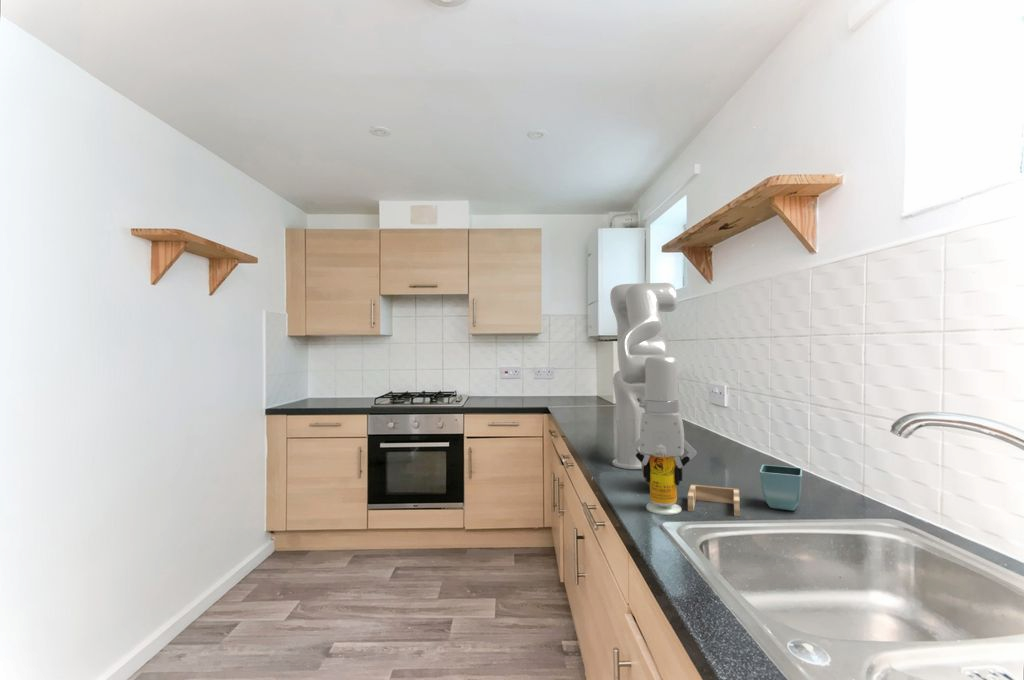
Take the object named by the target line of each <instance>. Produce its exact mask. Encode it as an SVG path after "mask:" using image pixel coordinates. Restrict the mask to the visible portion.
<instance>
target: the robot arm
mask: <svg viewBox="0 0 1024 680" xmlns="http://www.w3.org/2000/svg"><path fill="white" fill-rule="evenodd" d="M609 296H610V305H611V308H612V311H613V314H614V317H615V320H616V326H617V328H616V330H617V339H616V340H617V344H616V346H617V361H618V367H619V370H617V371H616V372H615V373H614V374H613V377H612V384H613V385H612V386H613V392H614V398H615V412H616V415H615V416H616V457H617V458H615V459H613V460H612V465H613V466H614V467H617V468H619V469H620V468H621V469H625V470H627V469H628V470H642V467H641V463H642V464H643V465H644V477H643V479H644V478H646V481H645V483H646V482H650V461H649V459H650V455H652V456H653V455H655V447H656V446H657V445H658V446H659V444H663V445H662V446H664V445H665V447H666V452H667V456H669V457H674V460H675V462H676V468H675V484H676V486H679V485H680V482H683V468H684V466H685V465H687V464H688V462H690V461H691V460H692V459H693V458H694V457H696V456H697V454H698V453H697V450H696V449H695V448H693V446H692V445H691V444H690V443H689V442H688V441H687V440H686V439H685V429H684V423H683V422H684V421H683V417H682V414H681V412H679V395H678V394H679V389H678V388H679V387H678V385H679V383H678V361H677V358H675V357H674V356H671V355H669V349H668V344H667V341H666V340H665V338H664V337H662V336H660V335H658V334H659V333H661V330H662V328H663V323H662V319H661V315H660V313H672V312H674V311H675V310H676V308H677V306H678V303H679V299H678V298H679V296H678V292H677V289H676V287H675V286H674V285H673V284H672V283H670V282H652V283H651V282H649V283H625V284H623V283H622V284H618V285H615V286H613V288H611V291H610V294H609ZM642 398H643V399H644V401H638V399H642ZM685 450H686V451H687V452H688V453H687V454H686V455H685V456H684V457H683V458H682V456H683V455H684V453H685ZM643 454H645V456H644V455H643Z"/></svg>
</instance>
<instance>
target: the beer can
mask: <svg viewBox="0 0 1024 680" xmlns="http://www.w3.org/2000/svg"><path fill="white" fill-rule="evenodd" d="M662 445H663V444H659V446H658V445H657V446H656V447H655V455H653V456H652V455H650V487H649V494H650V495H649V496H650V497H649V500H650V501H651V503H652V502H653V504H655V505H658V506H673V505H674V504H676V503H677V501H678V500H677V499H678V496H677V495H678V494H677V489H678V488H677V485H676V484H675V468H676V465H677V464H676V462H675V460H674V457H669V456H667V452H666V447H665V445H664V446H662Z"/></svg>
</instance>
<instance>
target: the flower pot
mask: <svg viewBox="0 0 1024 680" xmlns="http://www.w3.org/2000/svg"><path fill="white" fill-rule="evenodd" d="M759 477H760V478H759V479H760V485H761V491H762V495H763V498H764V500H765V502H766V504H767V505H768V507H769V508H771V509H776V510H777V509H778V510H786V511H795V510H796V508H797V506H798V504H799V502H800V499H801V493H802V479H803V468H801V467H796V466H795V467H793V466H782V465H773V464H771V465H770V464H761V467H760V469H759Z"/></svg>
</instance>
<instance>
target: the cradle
mask: <svg viewBox="0 0 1024 680" xmlns="http://www.w3.org/2000/svg"><path fill="white" fill-rule="evenodd" d="M696 501H704V502H712V503H713V502H714V503H721V504H730V505H733V515H734V517H739V516H740V517H741V509H740V506H741V505H740V504H741V502H740V501H741V500H740V489H739V488H734V487H725V486H724V487H721V486H714V485H713V486H712V485H701V484H690V485H689V490H688V493H687V511H688V512H694V509H695V505H696Z"/></svg>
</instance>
